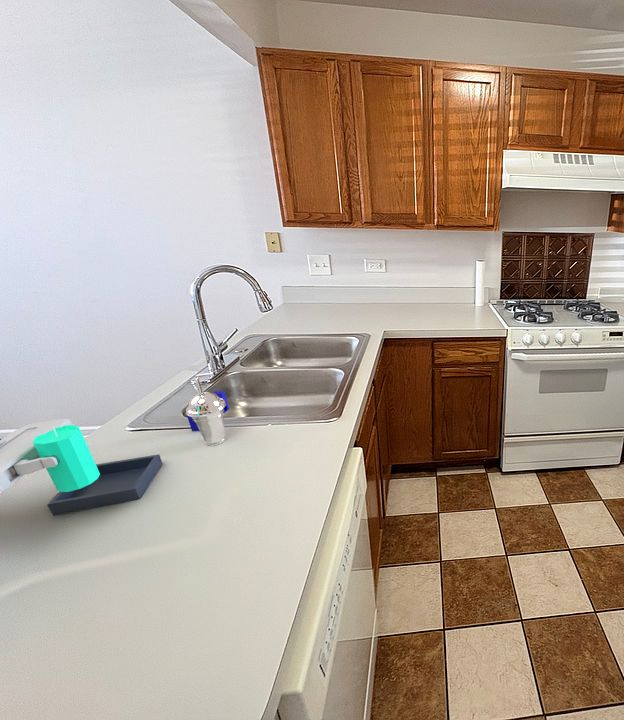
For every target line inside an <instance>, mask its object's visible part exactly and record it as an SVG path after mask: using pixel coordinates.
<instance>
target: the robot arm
mask: <svg viewBox="0 0 624 720" xmlns="http://www.w3.org/2000/svg"><path fill="white" fill-rule="evenodd" d="M66 425H74V423H73V422H72V420H71V419H69V418H57V419H50V420H44V421H38V422H32V423H29V424H26V425H22V426H21V427H18V428H17V429H15V430H14V431H12V432H11V433H9V434H8V435H6V436H5V437H4V438H0V495H1V494H2V493H4V492H5V491H6V490H7V489H8V488H10V487H11V486H13V485H14V484H15V483H16V482H17V481H19V480H20V479H21V478H23V477H24V476H25V475H30V474H33V473H35V472H39V471H41V470H43V469H46V468H48V467H55V466H56V465H57V464H58V463H59V462H60V460H59V458H58V456H56V455H53V456H44V457H42V458H40V456H39V454H38V452H37V450H36V448H35V446H34V444H33V441H34V439H35V437H36V436H39V435H42V434H45V433H47V432H49V431H51V430H53V427H54V429H55V428H57V427H62V426H66Z"/></svg>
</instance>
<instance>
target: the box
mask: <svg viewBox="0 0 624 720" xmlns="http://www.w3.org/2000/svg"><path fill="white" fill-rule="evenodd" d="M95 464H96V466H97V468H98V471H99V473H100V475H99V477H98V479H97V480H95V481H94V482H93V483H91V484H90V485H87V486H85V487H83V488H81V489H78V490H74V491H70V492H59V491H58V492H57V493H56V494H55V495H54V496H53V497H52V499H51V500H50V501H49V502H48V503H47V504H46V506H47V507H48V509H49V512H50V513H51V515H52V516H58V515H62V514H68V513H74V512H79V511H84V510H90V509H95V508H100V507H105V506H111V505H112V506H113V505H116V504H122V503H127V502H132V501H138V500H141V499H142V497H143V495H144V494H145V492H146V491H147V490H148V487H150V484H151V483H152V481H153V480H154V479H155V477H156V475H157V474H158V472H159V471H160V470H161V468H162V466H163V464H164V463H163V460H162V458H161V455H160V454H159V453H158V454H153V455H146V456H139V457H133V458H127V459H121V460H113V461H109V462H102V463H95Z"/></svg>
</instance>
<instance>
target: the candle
mask: <svg viewBox="0 0 624 720" xmlns="http://www.w3.org/2000/svg"><path fill="white" fill-rule="evenodd" d="M33 444H34V446H35V448H36V450H37V452H38V454H39V456H40V458H42V457H44V456H53V455H56V456H58V458H59V460H60V462H59V463H58V464H57V465H56V466H55V467H48V468H45V469H46V471H47V473H48V476H49V477H50V479H51V481H52V483H53V485H54V488H55V489H56V490H57V491H58V492H70V491H74V490H78V489H81V488H83V487H85V486H87V485H90V484H91V483H93V482H94V481H95V480H97V479H98V477H99V475H100V473H99V471H98V468H97V466H96V464H97V463H96V462H95V459H94V457H93V455H92V452H91V451H90V449H89V446H88V444H87V441H86V439H85V437H84V435H83V433H82V431H81V428H80V426H79V425H76V424H73V425H66V426H62V427H57V428H55V429H54V427H53V430H51V431H49V432H47V433H45V434H42V435H39V436H36V437H35V439H34V441H33Z"/></svg>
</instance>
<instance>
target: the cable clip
mask: <svg viewBox="0 0 624 720" xmlns="http://www.w3.org/2000/svg"><path fill="white" fill-rule="evenodd" d="M212 393H214V394H216V395H217V396H218V397H219V398H221V399H223V400H224V401H225V402H226V406H225V407H224V408H223V409H224V411H223V412H224V414H225V413H227V412H228V411H229V410H230V406H229V403H228V399H227V396H226V392H225V391H224V390H223V391H221V390H220V391H219V390H217V391H216V390H215V391H213V392H212ZM186 417H187V420H188V421H187V422H188V424H189V426H190V429H191V430H190V431H191V432H200V431H199V429H198V427H197V424H196V423H195V422H194V420H193V419H192V417H191V416H188V415H187V414H186Z"/></svg>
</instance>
